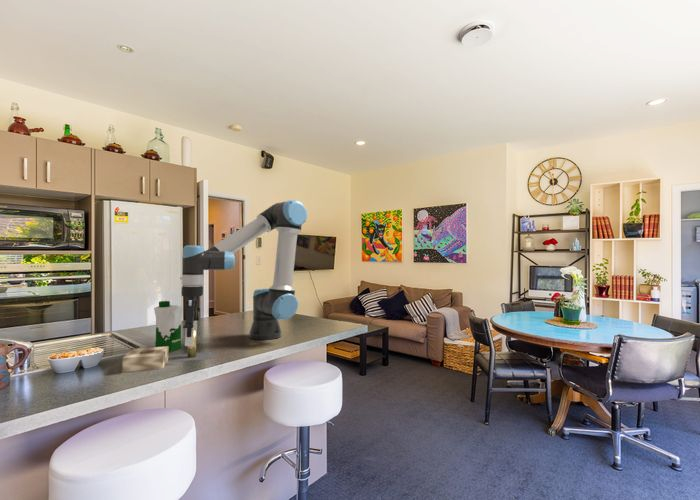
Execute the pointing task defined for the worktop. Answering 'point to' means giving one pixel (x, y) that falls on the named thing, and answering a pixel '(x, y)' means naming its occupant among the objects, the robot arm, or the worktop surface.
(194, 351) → the brass pin
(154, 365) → the hole block
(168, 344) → the milk carton
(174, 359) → the mat
